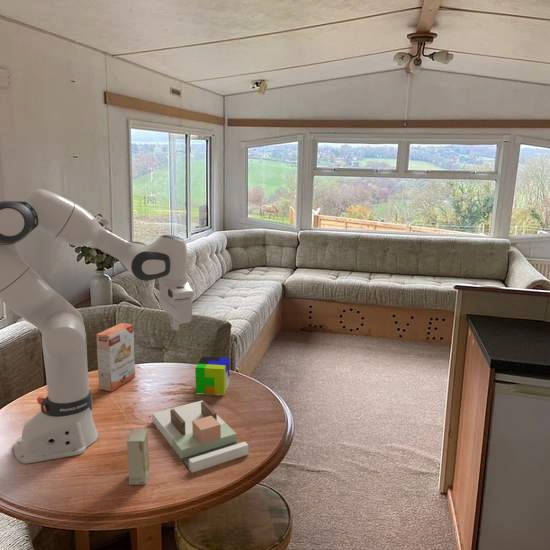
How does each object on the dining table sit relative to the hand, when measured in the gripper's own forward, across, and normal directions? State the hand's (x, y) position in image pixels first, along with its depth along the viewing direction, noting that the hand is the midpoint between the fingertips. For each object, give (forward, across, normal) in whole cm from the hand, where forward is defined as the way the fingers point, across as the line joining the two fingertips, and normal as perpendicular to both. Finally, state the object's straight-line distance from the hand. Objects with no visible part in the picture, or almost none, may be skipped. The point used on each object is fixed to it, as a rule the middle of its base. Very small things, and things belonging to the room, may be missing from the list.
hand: (175, 328), depth 166 cm
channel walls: (+25, +17, -1) cm, 30 cm away
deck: (+28, +20, -1) cm, 34 cm away
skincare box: (+28, +31, -22) cm, 47 cm away
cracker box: (+28, -28, -12) cm, 41 cm away
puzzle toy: (+28, -8, +16) cm, 33 cm away
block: (+24, +26, -1) cm, 36 cm away
